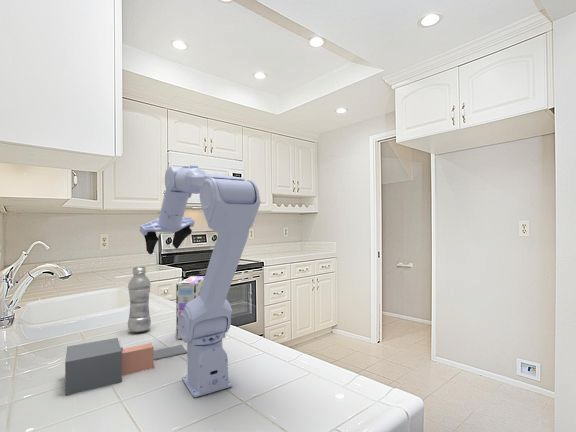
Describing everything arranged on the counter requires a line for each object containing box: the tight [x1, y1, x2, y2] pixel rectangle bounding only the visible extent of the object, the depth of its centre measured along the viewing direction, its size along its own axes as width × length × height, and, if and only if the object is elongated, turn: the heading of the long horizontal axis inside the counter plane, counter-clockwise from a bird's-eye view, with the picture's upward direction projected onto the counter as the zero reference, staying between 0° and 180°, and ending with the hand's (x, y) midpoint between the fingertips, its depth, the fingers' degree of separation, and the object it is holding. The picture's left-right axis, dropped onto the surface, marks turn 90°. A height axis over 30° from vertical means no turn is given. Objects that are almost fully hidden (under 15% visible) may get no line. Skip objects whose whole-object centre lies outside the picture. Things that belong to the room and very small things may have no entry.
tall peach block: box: [122, 342, 155, 376], centre depth 75 cm, size 3×11×5 cm, turn 123°
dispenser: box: [64, 337, 124, 396], centre depth 72 cm, size 10×10×6 cm
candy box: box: [175, 275, 205, 340], centre depth 102 cm, size 14×6×16 cm, turn 179°
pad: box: [154, 344, 187, 361], centre depth 84 cm, size 6×14×1 cm, turn 122°
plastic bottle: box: [127, 266, 152, 333], centre depth 104 cm, size 6×7×20 cm
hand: (162, 249), depth 91 cm, fingers open, 7 cm apart
